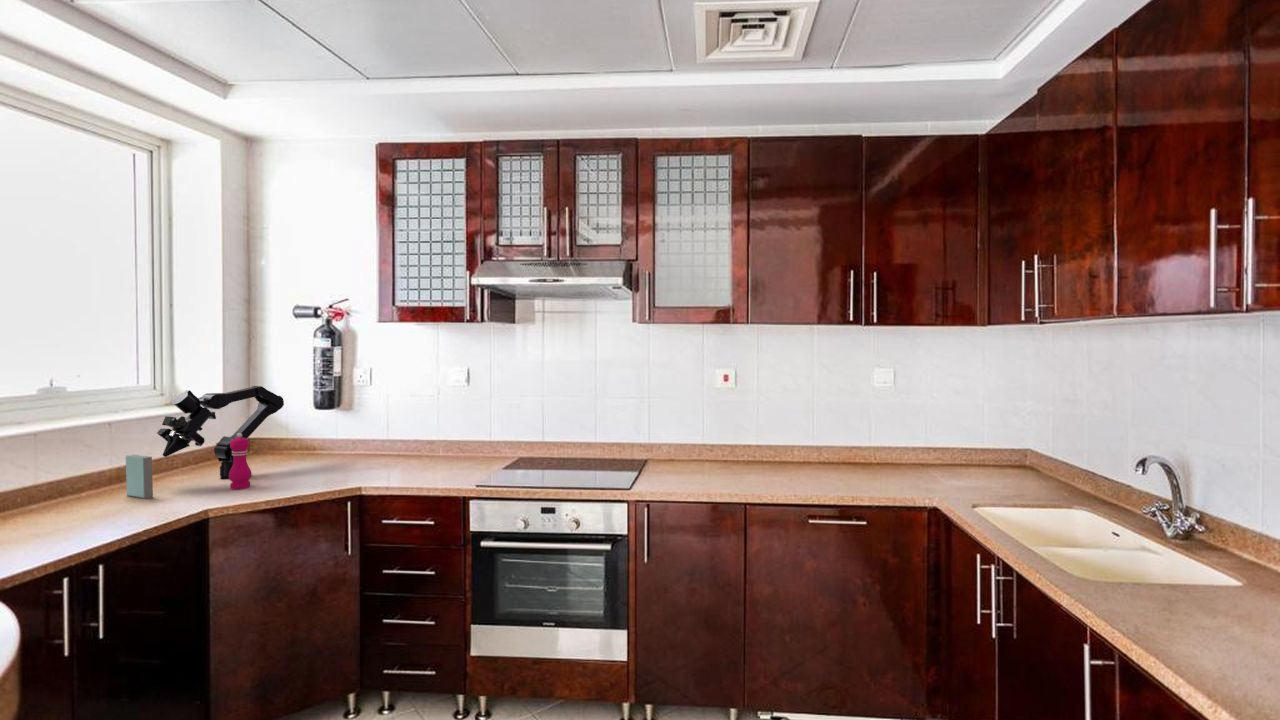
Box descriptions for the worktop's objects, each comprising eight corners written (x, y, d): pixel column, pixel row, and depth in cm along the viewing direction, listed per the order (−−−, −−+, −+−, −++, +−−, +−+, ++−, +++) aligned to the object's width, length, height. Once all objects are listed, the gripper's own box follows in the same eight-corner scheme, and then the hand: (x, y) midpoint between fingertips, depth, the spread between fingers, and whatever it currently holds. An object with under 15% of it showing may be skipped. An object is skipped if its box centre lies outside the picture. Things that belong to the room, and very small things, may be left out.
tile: (134, 494, 230) (133, 454, 229) (152, 497, 226) (151, 456, 225) (126, 496, 227) (125, 455, 227) (144, 499, 224) (143, 458, 223)
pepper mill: (227, 490, 236) (226, 435, 235) (229, 486, 242) (228, 432, 241) (251, 488, 239) (250, 433, 238) (252, 484, 245) (251, 431, 245)
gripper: (161, 406, 242) (129, 440, 232) (195, 408, 234) (163, 444, 225) (184, 425, 249) (154, 459, 240) (217, 428, 242) (187, 463, 232)
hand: (164, 456), depth 234 cm, fingers closed
